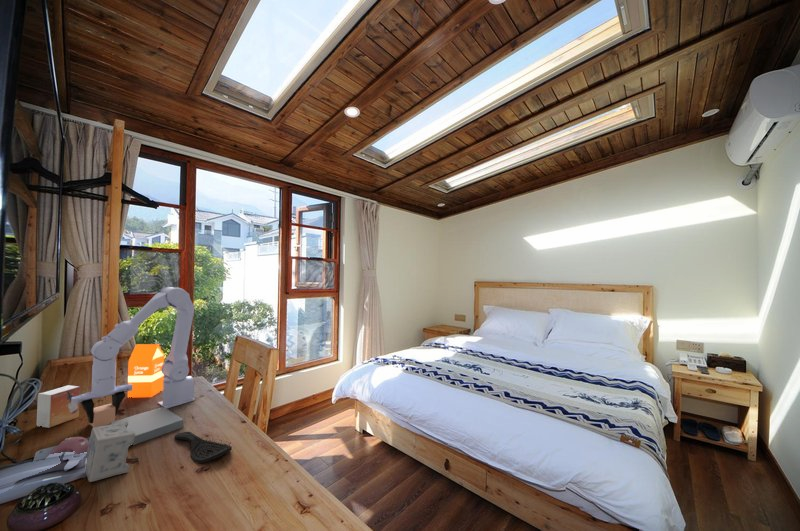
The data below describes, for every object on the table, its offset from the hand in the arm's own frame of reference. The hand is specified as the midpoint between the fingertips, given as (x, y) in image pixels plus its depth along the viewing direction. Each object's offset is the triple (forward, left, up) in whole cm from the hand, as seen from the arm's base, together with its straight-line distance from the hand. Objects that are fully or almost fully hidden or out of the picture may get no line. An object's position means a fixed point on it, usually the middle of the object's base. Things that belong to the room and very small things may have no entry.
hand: (102, 418), depth 102 cm
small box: (+8, -13, -2) cm, 15 cm away
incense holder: (+6, +33, -2) cm, 34 cm away
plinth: (-7, +16, -1) cm, 18 cm away
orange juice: (-17, -18, -2) cm, 25 cm away
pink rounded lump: (+11, +20, -2) cm, 23 cm away
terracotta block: (0, 0, -1) cm, 1 cm away
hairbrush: (-12, +40, -2) cm, 42 cm away
